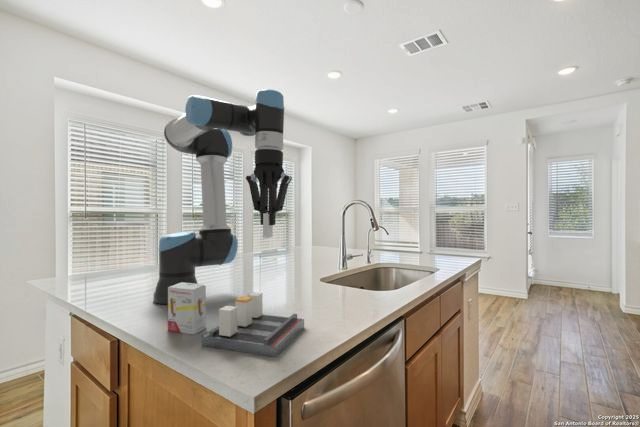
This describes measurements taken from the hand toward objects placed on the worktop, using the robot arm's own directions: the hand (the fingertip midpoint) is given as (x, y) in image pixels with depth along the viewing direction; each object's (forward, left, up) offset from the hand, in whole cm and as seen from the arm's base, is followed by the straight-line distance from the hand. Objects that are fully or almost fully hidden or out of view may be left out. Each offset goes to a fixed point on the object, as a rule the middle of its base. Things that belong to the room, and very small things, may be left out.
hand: (267, 237), depth 86 cm
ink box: (-19, -9, -25) cm, 32 cm away
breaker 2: (-3, -7, -22) cm, 23 cm away
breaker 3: (-4, 0, -22) cm, 22 cm away
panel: (0, -7, -24) cm, 25 cm away
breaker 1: (-4, -13, -22) cm, 26 cm away
